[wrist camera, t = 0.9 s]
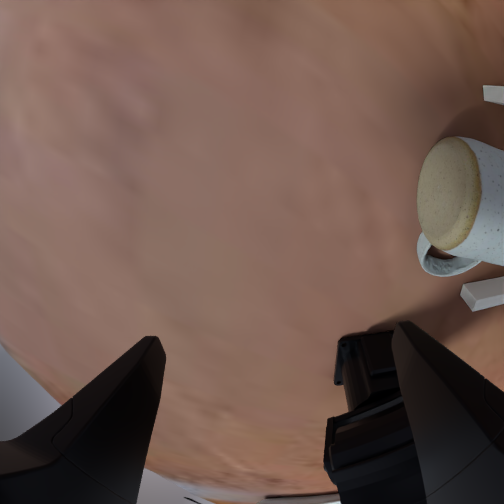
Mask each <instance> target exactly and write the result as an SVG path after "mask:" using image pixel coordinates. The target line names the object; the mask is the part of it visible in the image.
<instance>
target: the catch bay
mask: <svg viewBox="0 0 504 504" xmlns="http://www.w3.org/2000/svg"><path fill="white" fill-rule="evenodd" d="M483 93H484V101H488V102H492V103H496V104H500V105H504V86H489V85H483ZM460 296H461V297H462V298H463V300H464V301H465V302H466V304H467V305H468V306H469V308H470V309H471V310H472V312H473V311H477V310H482V309H486V308H490V307H493V306H497V305H501V304H504V276H503V277H498V278H493V279H488V280H483V281H477V282H472V283H466V284H463V286H462V290H461V293H460Z"/></svg>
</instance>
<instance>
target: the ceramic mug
mask: <svg viewBox="0 0 504 504" xmlns="http://www.w3.org/2000/svg"><path fill="white" fill-rule="evenodd" d="M417 211H418V218H419V222H420V225H421V229H422V233H421V234H420V236H419V239H418V242H417V253H418V258H419V261H420V264H421V266H422V268H423V269H424V270H425V271H426V272H427V273H429V274H432V275H435V276H442V277H445V276H453V275H457V274H460V273H463V272H465V271H467V270H469V269H471V268H472V267H474V266H476V265H477V264H479V263H480V262H481V261H485V262H488V263H492V264H496V265H501V266H504V151H503V150H500V149H497V148H494V147H492V146H490V145H487V144H485V143H483V142H480V141H477V140H475V139H471V138H465V137H459V136H452V137H446V138H444V139H442V140H440V141H439V142H437V143H436V144H435V145H434V146H433V147H432V149H431V150H430V152H429V153H428V155H427V157H426V158H425V160H424V163H423V166H422V169H421V172H420V176H419V181H418V189H417ZM431 245H433V246H435V247H436V248H438V249H440V250H442V251H444V252H447V253H449V254H451V255H453V256H457V257H454V258H452V259H447V260H443V259H438V258H435V257H432V256H431V255H426V254H427V252H428V249H429V248H430V247H431Z"/></svg>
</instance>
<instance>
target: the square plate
mask: <svg viewBox="0 0 504 504" xmlns="http://www.w3.org/2000/svg"><path fill="white" fill-rule="evenodd" d="M257 504H341V502H340V496H339V493H337V494H329V495H319V496H307V497H288V498H271V499H264V500H261V501H260V502H258V503H257Z"/></svg>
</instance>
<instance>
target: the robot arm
mask: <svg viewBox="0 0 504 504" xmlns="http://www.w3.org/2000/svg"><path fill="white" fill-rule="evenodd" d="M343 343H344V344H343ZM165 364H166V354H165V351H164V349H163V347H162V344H161V342H160V339H159V338H158V337H157V336H145V337H144V338H142V339H141V340H140V341H139V342H138V343H136V344H135V345H134V346H133V347H132V348H130V349H129V350H128V351H127V352H126V353H124V354H123V355H122V356H121V357H120V358H118V359H117V360H116V361H115V362H114V363H112V364H111V365H110V366H109V367H108V368H106V369H105V370H104V371H103V372H102V373H100V374H99V375H98V376H97V377H96V378H94V379H93V380H92V381H91V382H90V383H88V384H87V385H86V386H85V387H84V388H82V389H81V390H80V391H79V392H78V393H76V394H75V395H74V396H73V398H70V399H69V400H68V401H67V402H66V403H64V404H63V405H62V406H61V407H60V408H58V409H57V410H56V411H54V413H52V414H50V415H49V416H48V417H46V418H45V419H43V420H42V421H41V422H39V423H38V424H36V425H35V426H33V427H32V428H30V429H29V430H27V431H26V432H25V433H23V434H21V435H20V436H18V437H17V438H14V439H12V440H8V441H0V504H136V503H137V497H138V493H139V488H140V483H141V478H142V474H143V469H144V465H145V460H146V456H147V452H148V447H149V443H150V439H151V435H152V431H153V427H154V423H155V419H156V415H157V411H158V407H159V403H160V398H161V391H162V384H163V377H164V370H165ZM334 384H335V385H344V389H345V394H346V399H347V405H348V410H349V412H347V413H345V414H342V415H339V416H336V417H331V418H328V419H327V427H326V437H325V449H324V459H323V462H324V470H325V471H326V472H327V473H328V475H329V478H330V479H331V481H332V482H333V484H335V485H337V488H338V492H339V496H340V502H341V504H504V392H503V391H502V390H500V389H499V388H498V387H497V386H495V385H494V384H493V383H491V382H490V381H489V380H488V379H485V377H484V376H482V375H481V374H480V373H479V372H477V371H476V370H475V369H473V368H472V367H471V366H470V365H468V364H467V363H466V362H464V361H463V360H462V359H460V358H459V357H458V356H457V355H455V354H454V353H453V352H451V351H450V350H449V349H447V348H446V347H445V346H443V345H442V344H441V343H439V342H438V341H437V340H435V339H434V338H433V337H431V336H430V335H429V334H427V333H426V332H425V331H423V330H422V329H421V328H419V327H418V326H417V325H415V324H414V323H412V322H411V321H409V320H406V321H399V322H397V324H396V326H395V330H394V331H390V332H383V333H377V334H370V335H362V336H355V337H347V338H341V339H340V340H339V341H338V345H337V355H336V364H335V373H334Z"/></svg>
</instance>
